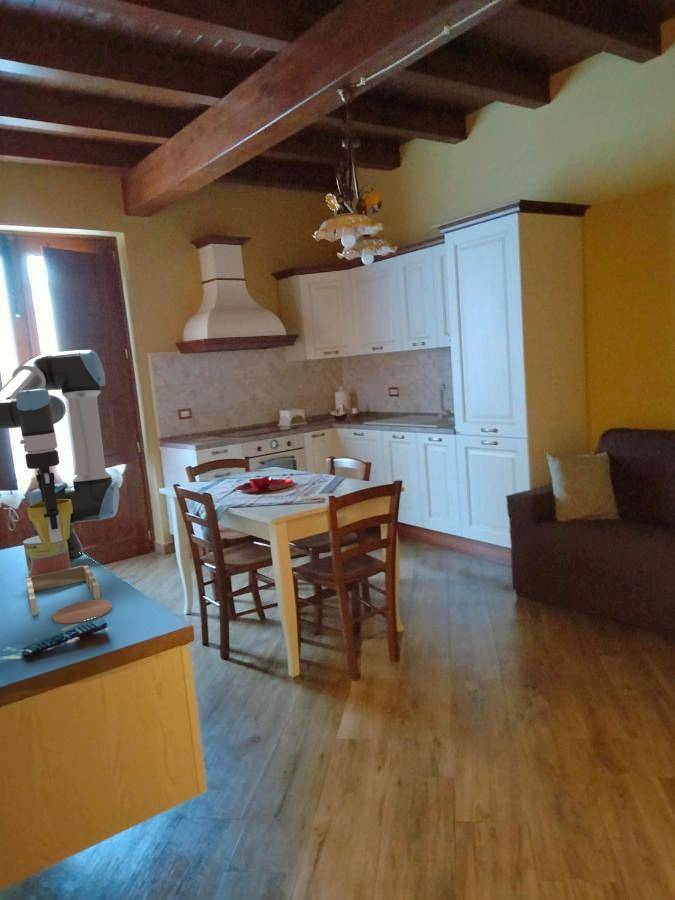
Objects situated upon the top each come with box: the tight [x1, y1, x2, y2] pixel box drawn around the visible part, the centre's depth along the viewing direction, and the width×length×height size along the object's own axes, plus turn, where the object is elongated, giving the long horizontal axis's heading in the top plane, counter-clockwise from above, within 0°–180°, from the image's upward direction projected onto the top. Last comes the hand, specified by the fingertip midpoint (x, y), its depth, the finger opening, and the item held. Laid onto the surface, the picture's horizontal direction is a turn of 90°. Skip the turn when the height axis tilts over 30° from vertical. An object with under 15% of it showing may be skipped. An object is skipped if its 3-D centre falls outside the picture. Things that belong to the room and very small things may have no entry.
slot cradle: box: [25, 564, 102, 617], centre depth 170 cm, size 22×16×4 cm
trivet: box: [52, 599, 113, 625], centre depth 155 cm, size 13×13×1 cm
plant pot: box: [26, 499, 73, 544], centre depth 167 cm, size 10×10×10 cm
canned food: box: [22, 535, 72, 577], centre depth 186 cm, size 11×11×12 cm
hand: (54, 537), depth 167 cm, fingers closed on plant pot, 10 cm apart
